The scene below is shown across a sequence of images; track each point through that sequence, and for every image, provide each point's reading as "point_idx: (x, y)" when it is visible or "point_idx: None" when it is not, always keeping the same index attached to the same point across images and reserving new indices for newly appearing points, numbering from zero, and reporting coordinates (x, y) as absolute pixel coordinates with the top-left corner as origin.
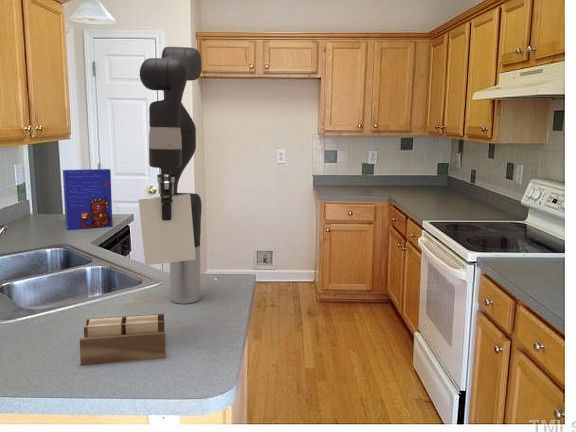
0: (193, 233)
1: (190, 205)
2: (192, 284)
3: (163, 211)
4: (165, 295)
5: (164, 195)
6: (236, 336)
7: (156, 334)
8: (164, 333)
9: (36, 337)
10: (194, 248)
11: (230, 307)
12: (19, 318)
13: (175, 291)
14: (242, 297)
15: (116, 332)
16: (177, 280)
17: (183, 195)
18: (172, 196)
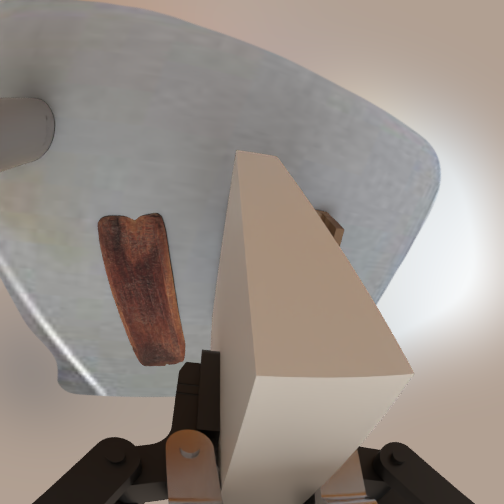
0: (298, 186)
1: (360, 290)
2: (30, 117)
3: None
4: (5, 170)
5: (154, 496)
6: (266, 59)
7: (339, 244)
8: (343, 230)
9: (162, 370)
10: (283, 167)
11: (101, 37)
12: (91, 383)
13: (32, 155)
14: (58, 11)
15: None
16: (20, 155)
17: (340, 433)
18: (305, 485)
